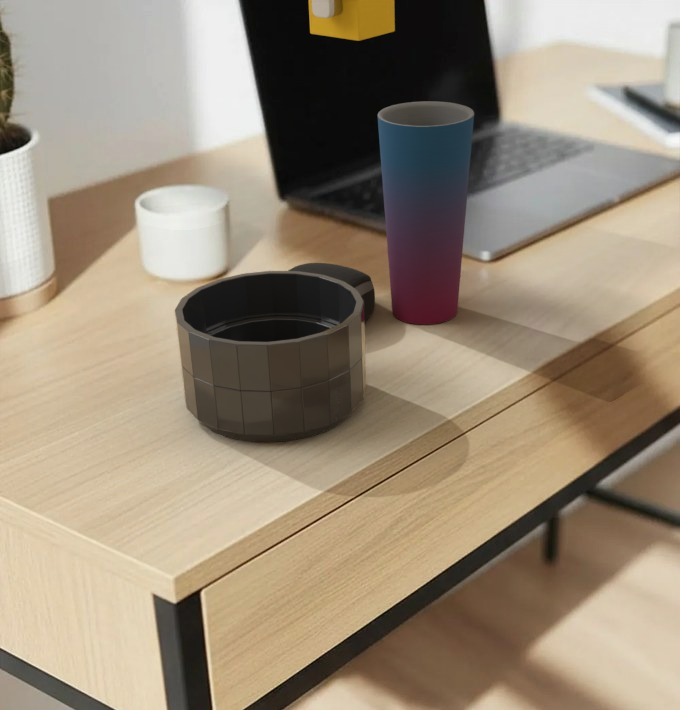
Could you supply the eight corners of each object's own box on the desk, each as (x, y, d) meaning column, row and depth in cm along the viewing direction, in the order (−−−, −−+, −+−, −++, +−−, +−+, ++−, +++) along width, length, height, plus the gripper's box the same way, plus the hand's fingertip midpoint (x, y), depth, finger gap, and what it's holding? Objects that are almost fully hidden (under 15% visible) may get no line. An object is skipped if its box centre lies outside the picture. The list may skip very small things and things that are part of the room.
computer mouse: (231, 345, 89) (226, 294, 86) (318, 288, 97) (315, 241, 95) (311, 364, 85) (309, 311, 83) (394, 303, 94) (393, 254, 92)
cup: (484, 319, 91) (491, 118, 83) (402, 336, 89) (401, 131, 81) (445, 288, 96) (448, 96, 88) (367, 303, 94) (362, 108, 86)
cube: (395, 31, 89) (394, -35, 87) (358, 41, 87) (356, -27, 84) (346, 24, 92) (344, -40, 90) (309, 33, 90) (306, -32, 87)
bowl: (402, 396, 81) (401, 299, 77) (274, 466, 73) (266, 362, 70) (277, 349, 88) (271, 257, 84) (149, 408, 81) (136, 311, 77)
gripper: (269, -200, 73) (283, 39, 81) (474, -216, 86) (470, -8, 93) (200, -199, 77) (219, 29, 84) (407, -215, 89) (408, -15, 97)
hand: (352, 10), depth 89 cm, fingers closed on cube, 4 cm apart
